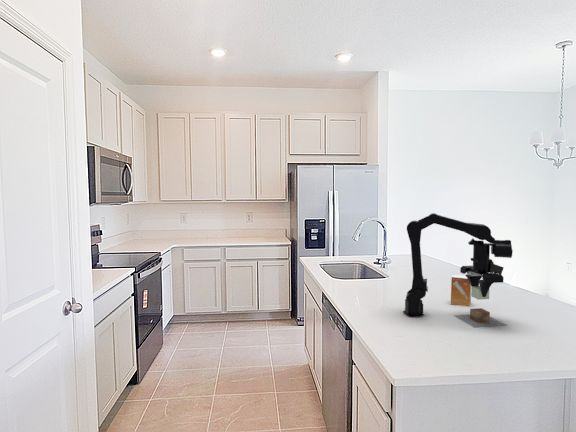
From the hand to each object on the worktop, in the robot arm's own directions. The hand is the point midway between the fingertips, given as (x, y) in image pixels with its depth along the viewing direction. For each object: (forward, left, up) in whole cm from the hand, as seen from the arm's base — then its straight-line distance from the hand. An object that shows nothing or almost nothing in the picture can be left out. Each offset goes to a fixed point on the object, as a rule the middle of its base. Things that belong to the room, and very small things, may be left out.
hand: (480, 295), depth 147 cm
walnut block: (0, 0, -10) cm, 10 cm away
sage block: (0, 0, -1) cm, 1 cm away
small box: (+6, +22, -11) cm, 25 cm away
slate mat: (0, 0, -11) cm, 11 cm away
